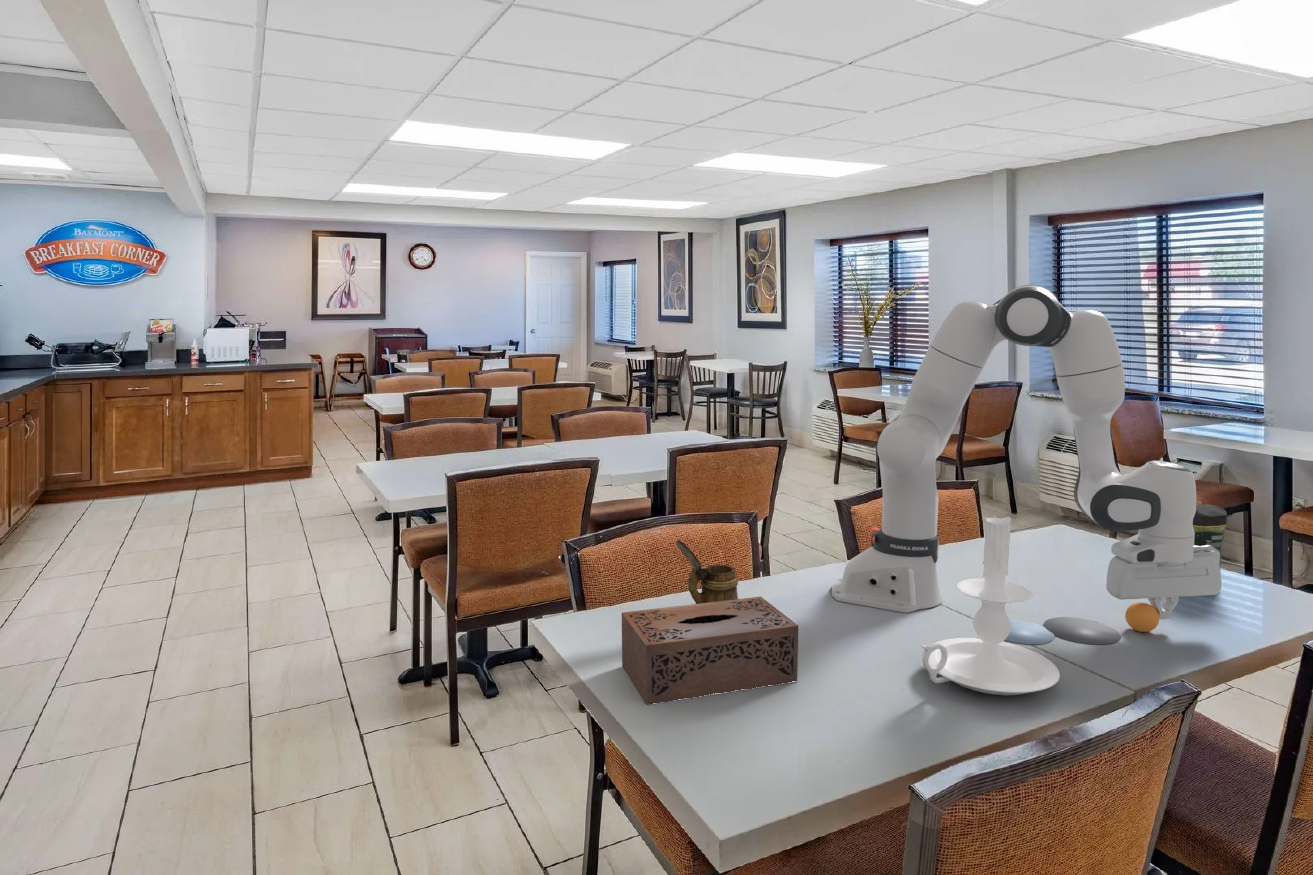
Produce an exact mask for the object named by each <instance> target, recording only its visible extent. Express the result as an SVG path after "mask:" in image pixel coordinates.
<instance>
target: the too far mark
mask: <svg viewBox="0 0 1313 875" xmlns="http://www.w3.org/2000/svg"><path fill="white" fill-rule="evenodd" d="M1009 619H1010V622H1011V631H1010V633H1009V635H1008V636H1007V638H1006V639H1005V640H1004V642H1005V641H1006V642H1008V643H1009V642H1010V643H1012V644H1020V645H1027V646H1028V645H1029V646H1030V645H1031V646H1032V645H1033V646H1036V645H1045V644H1049V643H1051V642H1053V641H1054V639H1055V635H1054V634H1053V633H1052V632H1051V631H1050V630H1048V629H1047V628H1045V627H1044V626H1043V625H1040V624H1038V623H1034V622H1031V621H1027V620H1020V619H1014V618H1013V619H1012V618H1009Z"/></svg>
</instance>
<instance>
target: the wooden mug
mask: <svg viewBox="0 0 1313 875" xmlns="http://www.w3.org/2000/svg"><path fill="white" fill-rule="evenodd" d="M676 546H677V547H678V549H679V550H680V552H681V553H682V554H683V556H685V558H686V559H687V561H688V562H689V563H690V564H691V565H692V569H691V571H690V573H689V576H688V582H687V586H688V592H689V593H690V596H691V598H692V600H693V601H694V602H695V603H694V604H700V603H709V602H717V601H726V600H735V599H739V596H738V585H739V580H738V576H737V574H736V568H735V567H733V566H731V565H729V564H714V565H708V566H702V564H701V562H700V560H699V559H698V558H697V556H696V555H695V554H694V552H693V551H692V550H691V549H690V547H688V546H687V544H685V543H684V542H683V541H681V540H679V539H677V540H676ZM699 583H700V585H701V591H700V592H699V590H698V584H699Z"/></svg>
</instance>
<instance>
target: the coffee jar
mask: <svg viewBox="0 0 1313 875" xmlns="http://www.w3.org/2000/svg"><path fill="white" fill-rule="evenodd" d="M1227 524H1228V513H1227V511H1226V510H1225V508H1224V507H1221V506H1217V505H1213V504H1209V503H1208V504H1196V513H1195V516H1194V518H1193V528H1194V532H1195V538H1194V546H1205V545H1210V546H1212V547H1213V548H1216V549H1217V550H1218V551H1219V553H1220V563H1219V565H1220V571H1222V570H1221V568H1222V567H1221V562H1222V559H1221V558H1222V546H1223V545H1222V544H1223V537H1224V534H1225V531H1226V529H1227ZM1213 551H1215V550H1213Z"/></svg>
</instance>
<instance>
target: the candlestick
mask: <svg viewBox="0 0 1313 875" xmlns="http://www.w3.org/2000/svg"><path fill="white" fill-rule="evenodd" d="M992 516H993V517H987V518H986V519H985V521H984V522H985V525H984V545H983V546H984V548H983V549H984V550H983V551H984V552H983V561H982V565H983V571H982V572H983V573H982V578H968V579H964V580H960V581H958V583H956V584H955V585H956V589H957V590H958V591H959V592H960V593H962V594H964V595H966V596H969V597H971V598H975V599H977V600H980V601H981V605H980V608H978V610H977V611H976V613H975V614H974V617H973V621H972V626H973V630H974V632H975V634H976V635H977V637H978V638H977V637H976V638H975V637H957V638H949V639H948V638H945V639H942V640H939V641H936V642H933V643H931V644H930V645H927V644H922V645H920V647H921V649H924V651H923V653H922V660H921V662H922V666H923V668H924V669H925V670H926V672H928V675H929V680H930V681H932V682H933V683H935V684H942V683H945V682H952V683H954V684H957V685H958V686H961V687H963V688H965V689H966V688H967V689H970V690H972V691H974V692H980V693H983V694H990V695H995V696H998V695H999V696H1000V695H1001V696H1017V695H1025V694H1029V693H1035V692H1039V691H1045V690H1047V689H1049V688H1051V687H1053V686H1055V685H1056V684H1057V683H1058V681H1060V676H1061V674H1060V671H1059V668H1058V667H1057V666H1056V664H1054V662H1052V661H1051V660H1049V659H1048V658H1046V657H1045V656H1043V655H1042V654H1040V653H1037V652H1036V651H1034V650H1030V649H1028V648H1025V647H1023V646H1019V645H1017V644H1014V643H1011V642H1010V643H1009V642H1005V639H1006V638H1007V636H1008V635H1009V633H1010V631H1011V622H1010V619H1011V618H1010V617H1009V615H1008V613H1007V612H1006V609H1005V607H1006V606H1005V605H1006V604H1008V603H1009V604H1010V603H1013V604H1014V603H1022V602H1027V601H1029V600H1031V599H1032V598H1033V597H1034V593H1033V592H1032V590H1030V589H1029V588H1027V587H1025V586H1023V585H1020V584H1018V583H1015V582H1011V581H1006V580H1005V578H1006V577H1007V576H1009V557H1010V556H1009V555H1010V540H1011V527H1012V526H1011V524H1012V518H1011V517H1010V516H1007V517H1000V518H999V517H996V515H995V514H993V515H992ZM1005 576H1006V577H1005ZM937 675H941V677H937Z"/></svg>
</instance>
